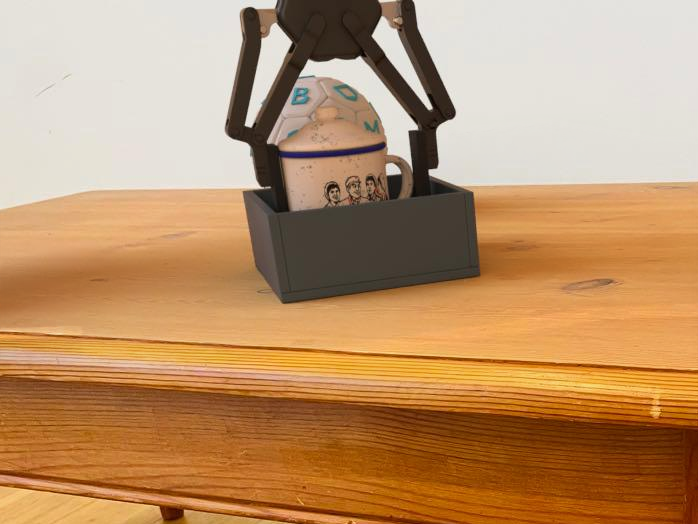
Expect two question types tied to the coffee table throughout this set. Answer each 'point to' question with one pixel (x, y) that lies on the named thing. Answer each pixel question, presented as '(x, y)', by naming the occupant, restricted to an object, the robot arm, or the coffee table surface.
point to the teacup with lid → (336, 164)
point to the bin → (364, 242)
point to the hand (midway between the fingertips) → (355, 218)
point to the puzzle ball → (319, 94)
